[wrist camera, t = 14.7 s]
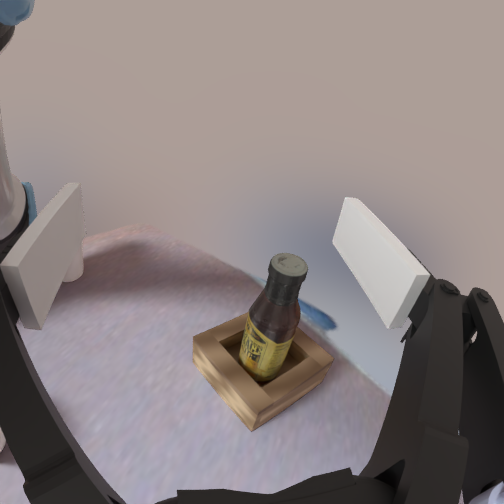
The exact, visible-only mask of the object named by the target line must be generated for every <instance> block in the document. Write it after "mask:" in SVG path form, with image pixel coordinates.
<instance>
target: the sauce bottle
mask: <svg viewBox="0 0 504 504" xmlns="http://www.w3.org/2000/svg"><path fill="white" fill-rule="evenodd" d="M268 271H269V276H268V279H267V283H266V286H265V288H264V290H263V291H262V293H261V294H260V295H259V297H258V298H257V299H256V301H255V302H254V303H253V305H252V306H251V308H250V309H249V313H248V317H247V322H246V326H245V330H244V335H243V339H242V345H241V349H240V354H239V358H238V364H239V365H240V366H241V367H242V368H243V369H244V370H245V371H246V373H247V374H248V375H249V376H250V377H251V378H252V379H253V380H254V381H255V382H256V383H257V384H259V385H263V384H267V383H269V382H271V381H272V380H273V379H275V378H276V377H277V375H278V373H279V372H280V369H281V367H282V365H283V362H284V360H285V357H286V355H287V353H288V350H289V348H290V345H291V343H292V340H293V338H294V335H295V333H296V328H297V325H298V323H299V320H300V314H301V313H300V306H299V303H298V299H297V298H298V294H299V290H300V287H301V284H302V282H303V281H304V280H305V278H306V275H307V271H308V266H307V264H306V263H305V261H304V260H303V259H302V258H300V257H298V256H295V255H293V254H289V253H280V254H277V255H275V256H274V257H273V258H272V259H271V261H270V264H269V268H268Z"/></svg>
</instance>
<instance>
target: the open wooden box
mask: <svg viewBox="0 0 504 504" xmlns="http://www.w3.org/2000/svg"><path fill="white" fill-rule="evenodd" d="M248 313H249V312H247V313H245V314H243V315H241V316H239V317H236V318H234V319H232V320H230V321H228V322H225V323H223V324H221V325H219V326H216V327H214V328H212V329H209V330H207V331H205V332H203V333H200V334H198V335H196V336H193V363H194V364H195V366H196V367H197V368H198V369H199V371H200V372H201V373H202V374H203V376H204V377H205V378H206V379H207V381H208V382H209V383H210V384H211V386H212V387H213V388H214V389H215V390H216V392H217V393H218V394H219V395H220V396H221V398H222V399H223V400H224V401H225V402H226V404H227V405H228V406H229V407H230V408H231V409H232V411H233V412H234V413H235V414H236V415H237V416H238V417H239V419H240V420H241V421H242V422H243V423H244V424H245V425H246V426H247V427H248V429H249V430H250V431H251V432H252V431H253V430H255V429H256V428H258V427H259V426H261V425H263V424H264V423H266V422H267V421H269V420H270V419H272V418H273V417H274V416H276V415H277V414H279V413H280V412H282V411H283V410H285V409H286V408H287V407H289V406H290V405H292V404H293V403H294V402H296V401H297V400H298V399H300V398H301V397H303V396H304V395H305V394H307V393H308V392H309V391H311V390H312V389H313V388H315V387H316V386H317V385H318V384H320V383H321V382H322V380H323V379H324V377H325V375H326V373H327V371H328V370H329V368H330V366H331V364H332V362H333V360H334V358H333V357H332V356H331V355H329V354H328V353H327V352H326V351H325V350H324V349H322V348H321V347H320V346H319V345H318V344H317V343H315V342H314V341H313V340H312V339H311V338H310V337H308V336H307V335H306V334H305V333H304V332H303V331H301V330H300V329H299V328H298V327H297V328H296V333H295V335H294V338H293V340H292V343H291V345H290V348H289V350H288V353H287V355H286V357H285V360H284V362H283V365H282V367H281V369H280V372H279V373H278V375H277V377H276V378H275V379H273V380H272V381H271V382H269V383H267V384H263V385H259V384H257V383H256V382H255V381H254V380H253V379H252V378H251V377H250V376H249V375H248V374H247V373H246V371H245V370H244V369H243V368H242V367H241V366H240V365H239V364H238V358H239V354H240V349H241V345H242V339H243V335H244V330H245V326H246V322H247V317H248Z"/></svg>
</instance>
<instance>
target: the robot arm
mask: <svg viewBox="0 0 504 504" xmlns="http://www.w3.org/2000/svg"><path fill="white" fill-rule="evenodd" d="M33 7H34V0H0V54H1V53H2V52H3V51H4V50H5V49H6V47H7V46H8V45H9V43H10V41H11V40H12V37H13V35H14V30H15V25H17V24H19V23H20V22H21V21H24V20H26V19H27V18H29V16H30V15H31V13H32V11H33ZM85 235H86V227H85V220H84V212H83V203H82V192H81V183H67V184H66V185H65V186H64V187H63V188H62V189H61V190H60V191H59V192H58V193H57V194H56V196H55V197H54V198H53V199H52V200H51V201H50V202H49V203H48V204H47V206H46V207H45V208H44V209H43V210H42V211H41V212H40V214H39V215H38V216H37V211H36V204H35V197H34V192H33V188H32V185H31V184H30V183H29V182H26V183H24V182H20V180H19V179H18V178H17V177H16V176H15V175H13V174H12V173H11V172H10V167H9V163H8V157H7V152H6V146H5V140H4V134H3V127H2V119H1V111H0V427H1V430H2V432H3V434H4V437H5V439H6V441H7V443H8V446H9V448H10V450H11V452H12V454H13V456H14V458H15V460H16V462H17V464H18V466H19V468H20V470H21V472H22V474H23V476H24V478H25V483H24V485H23V488H24V492H25V494H26V496H27V498H28V500H29V502H30V503H31V504H126V503H125V501H124V500H123V499H122V498H121V497H120V496H119V495H118V494H117V493H116V492H115V491H114V490H113V489H112V488H111V487H110V485H109V484H108V483H107V482H106V481H105V480H104V478H103V477H102V476H101V474H100V473H99V472H98V471H97V469H96V468H95V467H94V465H93V464H92V463H91V461H90V460H89V458H88V457H87V456H86V454H85V453H84V451H83V450H82V449H81V447H80V446H79V444H78V443H77V441H76V440H75V438H74V437H73V435H72V434H71V432H70V431H69V429H68V427H67V426H66V424H65V423H64V421H63V419H62V418H61V416H60V414H59V413H58V411H57V409H56V407H55V406H54V404H53V402H52V400H51V399H50V397H49V395H48V393H47V391H46V389H45V387H44V385H43V384H42V382H41V380H40V378H39V376H38V374H37V371H36V369H35V367H34V365H33V363H32V361H31V359H30V357H29V354H28V352H27V350H26V347H25V345H24V343H23V340H22V338H21V335H20V333H19V331H18V328H17V326H16V323H17V320H18V318H19V317H20V319H21V321H22V323H23V326H24V328H28V329H35V330H42V328H43V325H44V322H45V320H46V317H47V315H48V313H49V310H50V308H51V305H52V303H53V301H54V299H55V296H56V294H57V292H58V290H59V287H60V285H61V283H62V281H63V279H64V277H65V274H66V272H67V270H68V268H69V266H70V264H71V262H72V260H73V258H74V256H75V254H76V252H77V250H78V248H79V246H80V245H81V243H82V241H83V239H84V237H85ZM332 243H333V244H334V246H335V247H336V249H337V250H338V252H339V253H340V255H341V256H342V258H343V259H344V261H345V262H346V264H347V265H348V267H349V268H350V270H351V271H352V273H353V274H354V276H355V278H356V279H357V281H358V282H359V284H360V285H361V287H362V288H363V290H364V291H365V293H366V295H367V296H368V298H369V299H370V301H371V303H372V304H373V306H374V308H375V309H376V311H377V312H378V314H379V316H380V317H381V319H382V321H383V322H384V324H385V325H386V327H387V329H394V328H401V327H402V326H403V324H404V323H405V321H406V319H407V317H409V318H410V320H411V321H412V324H411V325H410V327H409V328H408V330H407V332H406V333H405V335H404V336H403V338H402V340H401V342H402V343H403V341H404V340H405V339H406V342H405V346H404V351H403V356H402V360H401V364H400V368H399V372H398V376H397V379H396V383H395V387H394V390H393V394H392V397H391V401H390V404H389V407H388V411H387V414H386V417H385V420H384V423H383V426H382V429H381V432H380V435H379V438H378V440H377V443H376V446H375V449H374V451H373V454H372V457H371V459H370V461H369V462H368V464H367V465H366V467H365V468H364V469H363V471H362V472H361V473H360V475H359V476H357V475H352V472H351V469H350V468H346V469H342V470H338V471H335V472H330V473H326V474H322V475H318V476H313V477H311V478H309V479H306V480H304V481H302V482H300V483H298V484H295V485H293V486H291V487H289V488H286V489H284V490H282V491H279V492H277V493H274V494H259V493H250V492H241V491H234V490H227V489H209V490H177V497H173V498H169V499H166V500H163V501H160V502H157V503H155V504H458V503H459V499H460V494H461V490H462V492H463V500H464V504H504V323H503V320H502V318H501V316H500V314H499V312H498V309H497V307H496V305H495V303H494V301H493V299H492V297H491V296H490V295H489V294H488V292H486V291H485V290H483V289H480V288H473V289H472V290H471V292H470V294H469V296H464V295H461V294H460V291H459V290H458V289H457V287H456V286H454V285H453V284H452V283H450V282H448V281H446V280H443V279H438V280H436V279H435V278H434V277H433V275H432V274H431V273H430V272H429V271H428V270H427V269H426V267H425V266H424V265H423V264H421V262H420V261H419V260H418V259H417V258H416V256H415V255H414V254H413V253H412V252H411V251H410V250H409V249H407V248H406V247H405V246H404V245H403V244H402V243H401V242H400V241H399V240H398V239H397V238H396V236H395V235H393V233H392V232H391V231H390V230H389V229H388V228H387V227H386V226H385V225H384V224H383V223H382V222H381V221H380V220H379V219H378V218H377V217H376V216H375V215H374V214H373V213H372V212H371V211H370V210H369V209H368V208H367V207H366V206H365V205H364V204H363V203H362V202H361V201H360V200H359V199H357V198H349V197H345V200H344V204H343V207H342V211H341V214H340V217H339V221H338V224H337V228H336V231H335V234H334V237H333V241H332ZM476 331H477V337H476V339H475V341H474V342H473V343H472V340H471V338H472V337H473V335H474V334H475V332H476ZM458 430H459V435H458Z"/></svg>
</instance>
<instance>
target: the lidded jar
mask: <svg viewBox="0 0 504 504" xmlns="http://www.w3.org/2000/svg"><path fill="white" fill-rule="evenodd" d="M5 443H6V439H5V437H4V434H3V432H2V430H1V427H0V453H1V451H2V450H3V448H4V446H5Z"/></svg>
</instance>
